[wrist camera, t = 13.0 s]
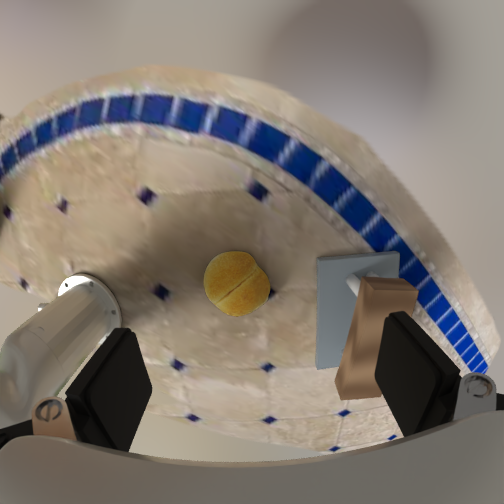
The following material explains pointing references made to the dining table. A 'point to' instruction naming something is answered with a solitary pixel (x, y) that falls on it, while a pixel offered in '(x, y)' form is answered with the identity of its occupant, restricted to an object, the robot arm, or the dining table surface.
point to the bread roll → (236, 283)
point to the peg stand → (344, 298)
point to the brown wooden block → (370, 333)
